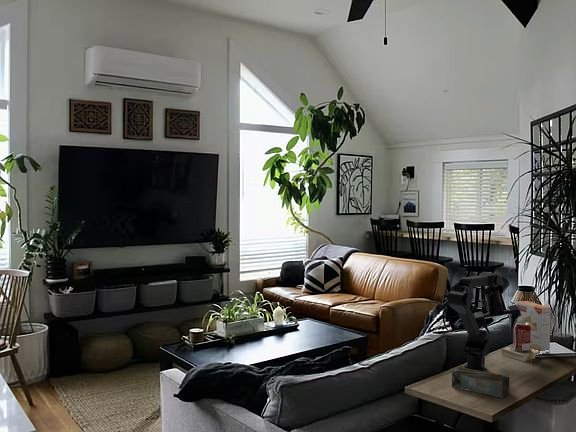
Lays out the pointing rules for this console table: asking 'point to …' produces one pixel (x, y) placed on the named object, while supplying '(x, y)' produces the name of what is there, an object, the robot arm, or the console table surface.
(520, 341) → the soda can
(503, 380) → the grey rectangular block
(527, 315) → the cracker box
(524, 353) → the beige square dish
